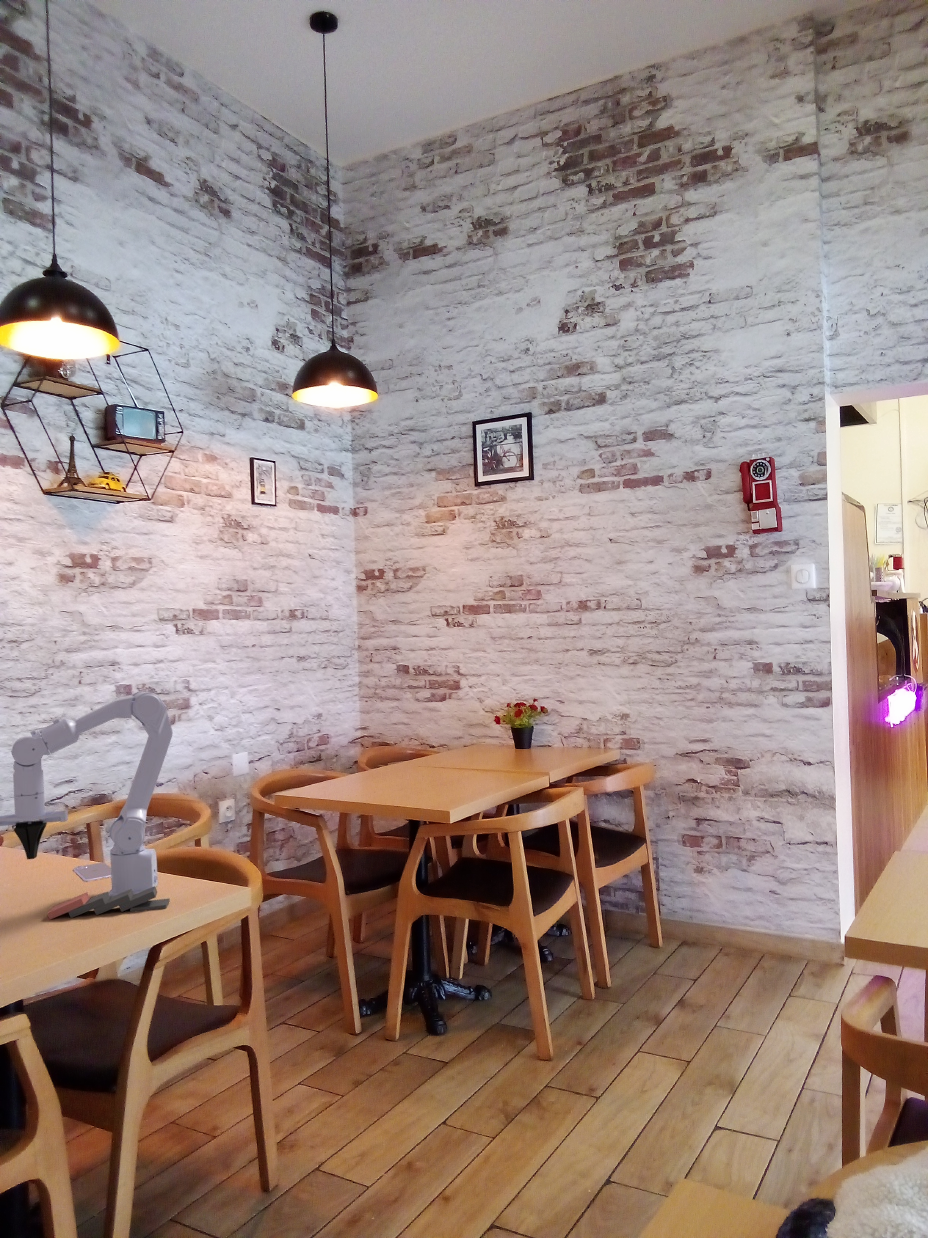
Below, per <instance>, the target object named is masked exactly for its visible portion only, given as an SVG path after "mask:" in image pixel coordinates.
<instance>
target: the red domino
mask: <svg viewBox="0 0 928 1238" xmlns="http://www.w3.org/2000/svg"><path fill="white" fill-rule="evenodd" d="M89 899H90V895H89V894H88V892H87V891H86V892H85V893H82V894H80V895H77V896H74V897H72V898H71V899H68V900H66V901H63V902H61V903H59V904H57V905H53V907H51V909H50V910H49V911H48V912H47V916H48V918H49V920H52V919H54V918H57V917H59V916H62V915H64V914H66V913H69V911H71V910H73V909H76V908H78V907H80V906H82V905H84V904H85V903H86V902H87V901H88V900H89Z"/></svg>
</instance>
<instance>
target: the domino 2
mask: <svg viewBox="0 0 928 1238" xmlns="http://www.w3.org/2000/svg"><path fill="white" fill-rule="evenodd" d="M133 896H134V893H133V891H132V889H130V890H127V891H125V892H122V893H120V894H118V895H115V896H113V897H110V899H109V900H108V901H107V902H106V904H104V905H102V906H99V907H97V908H94V909H93V911H94V913H95V915H96V916H98V915H100V914H101V915H102V914H103V913H105V912H107V911H110V910H112V909H114V908H116V907H117V908H118V907H119V906H120V905H122V904H124V903H127V902H129V901H131V899H132V898H133Z"/></svg>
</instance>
